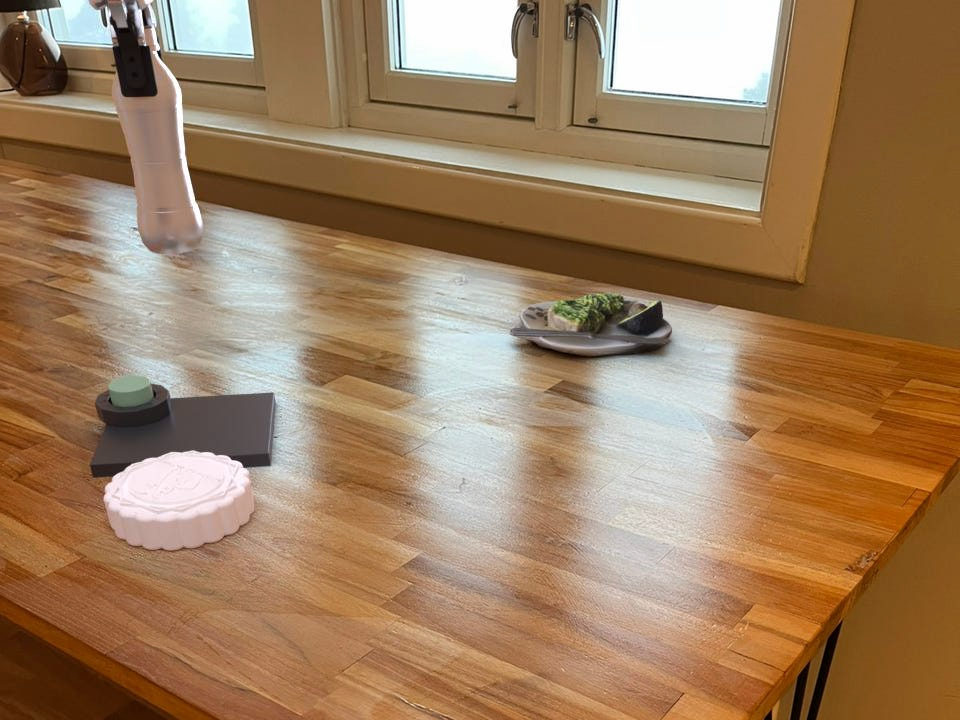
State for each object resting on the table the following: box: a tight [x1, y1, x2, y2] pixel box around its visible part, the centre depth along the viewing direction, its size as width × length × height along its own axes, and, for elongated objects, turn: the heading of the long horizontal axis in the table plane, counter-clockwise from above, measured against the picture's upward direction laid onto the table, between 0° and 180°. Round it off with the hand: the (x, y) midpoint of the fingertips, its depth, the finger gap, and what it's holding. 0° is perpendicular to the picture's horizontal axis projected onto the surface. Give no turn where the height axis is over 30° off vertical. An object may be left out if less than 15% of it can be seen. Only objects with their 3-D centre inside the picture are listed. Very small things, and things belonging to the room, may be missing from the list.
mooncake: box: [103, 450, 255, 552], centre depth 81 cm, size 12×12×4 cm
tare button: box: [107, 375, 154, 407], centre depth 95 cm, size 4×4×2 cm
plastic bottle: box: [111, 26, 204, 255], centre depth 95 cm, size 6×7×20 cm
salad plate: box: [509, 292, 673, 357], centre depth 114 cm, size 19×18×5 cm
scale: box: [89, 383, 277, 479], centre depth 93 cm, size 17×14×3 cm
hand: (144, 88), depth 92 cm, fingers closed on plastic bottle, 6 cm apart
